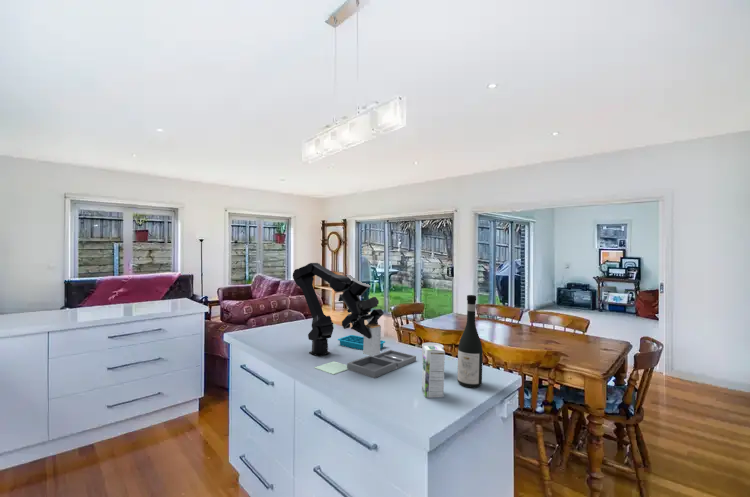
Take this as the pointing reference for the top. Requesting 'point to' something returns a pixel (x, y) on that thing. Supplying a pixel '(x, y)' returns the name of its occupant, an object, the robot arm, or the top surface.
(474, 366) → the wine bottle
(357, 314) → the robot arm
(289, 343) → the top surface
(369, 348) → the block
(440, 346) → the white cup
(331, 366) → the mat
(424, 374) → the syrup box
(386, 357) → the rod
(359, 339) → the ice cube tray
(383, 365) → the grey compartment tray
